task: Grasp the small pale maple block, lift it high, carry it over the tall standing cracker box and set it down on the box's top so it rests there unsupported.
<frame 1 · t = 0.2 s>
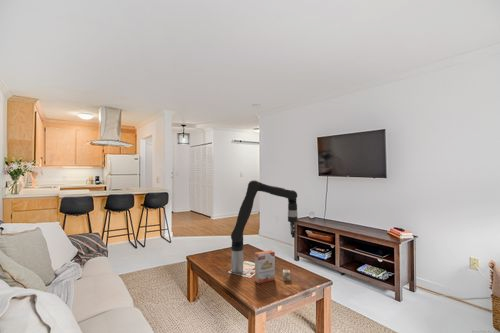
hand: (292, 236, 207), 28 cm above the table, fingers open, 8 cm apart
cracker box: (265, 280, 192), on the table
maple block: (286, 279, 194), on the table
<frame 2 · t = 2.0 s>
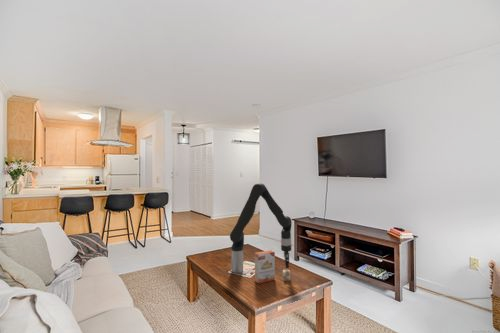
hand: (286, 265, 194), 10 cm above the table, fingers open, 8 cm apart
nothing on the table moved.
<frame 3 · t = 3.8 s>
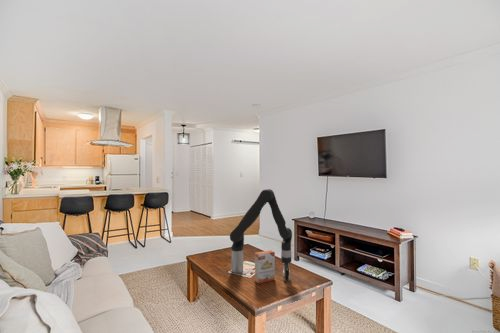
hand: (286, 278, 194), 1 cm above the table, fingers closed on maple block, 5 cm apart
maple block: (286, 279, 194), on the table, touching gripper
everything else where it was.
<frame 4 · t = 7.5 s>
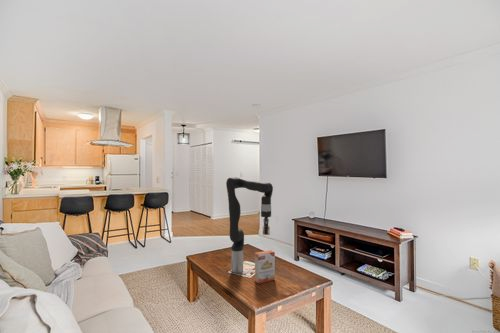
hand: (265, 233, 192), 35 cm above the table, fingers closed on maple block, 5 cm apart
maple block: (266, 233, 192), point 34 cm above the table, touching gripper
everything else where it was.
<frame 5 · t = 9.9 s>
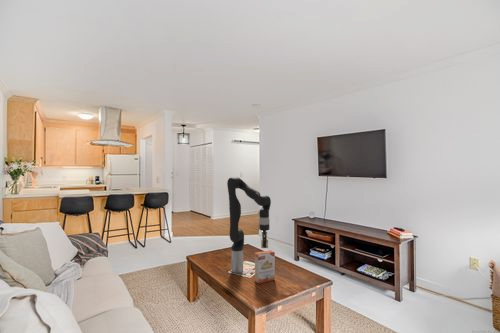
hand: (264, 246, 192), 25 cm above the table, fingers closed on maple block, 5 cm apart
maple block: (264, 247, 192), point 25 cm above the table, touching gripper
everything else where it was.
when the fingers open (23 cm above the table, at t = 11.5 s): maple block drops 1 cm, resting on cracker box.
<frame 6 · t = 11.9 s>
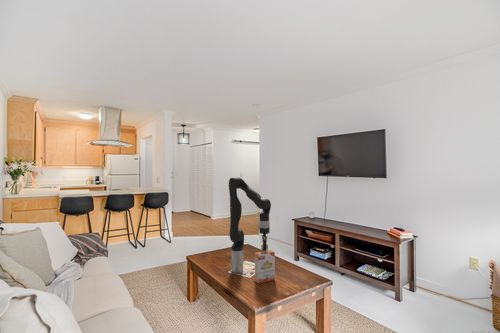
hand: (264, 248, 192), 24 cm above the table, fingers open, 8 cm apart
cracker box: (265, 280, 192), on the table, touching maple block
maple block: (264, 252, 192), point 21 cm above the table, touching cracker box
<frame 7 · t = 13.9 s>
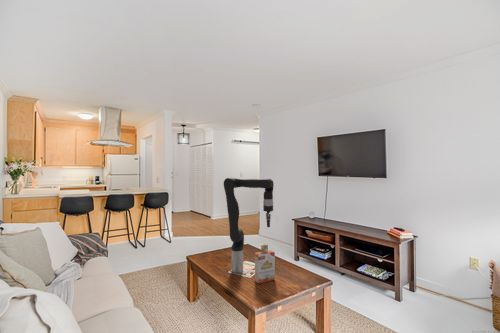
hand: (268, 225, 201), 38 cm above the table, fingers open, 8 cm apart
nothing on the table moved.
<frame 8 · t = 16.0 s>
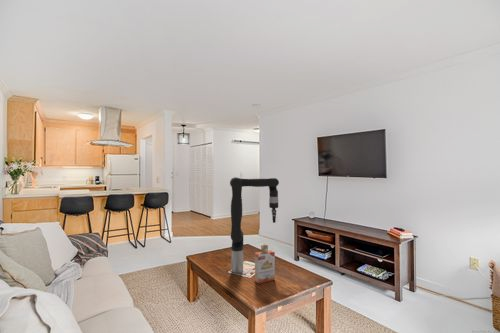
hand: (274, 221, 217), 38 cm above the table, fingers open, 8 cm apart
nothing on the table moved.
at the end: maple block touching cracker box; maple block point 20.9 cm above the table; cracker box tilted 0° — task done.
